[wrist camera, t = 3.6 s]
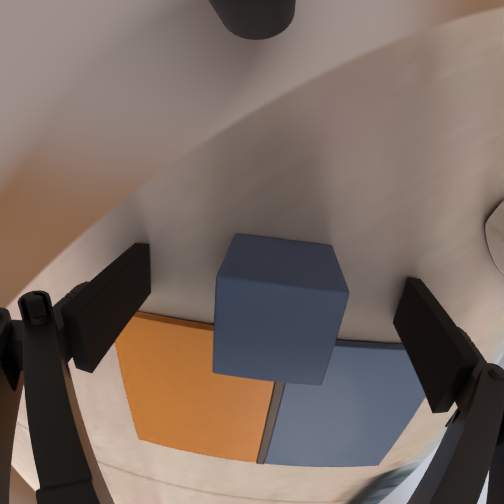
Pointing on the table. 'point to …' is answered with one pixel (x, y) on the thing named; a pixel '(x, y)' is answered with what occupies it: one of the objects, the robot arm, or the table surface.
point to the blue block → (277, 310)
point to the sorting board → (264, 400)
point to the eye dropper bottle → (496, 236)
